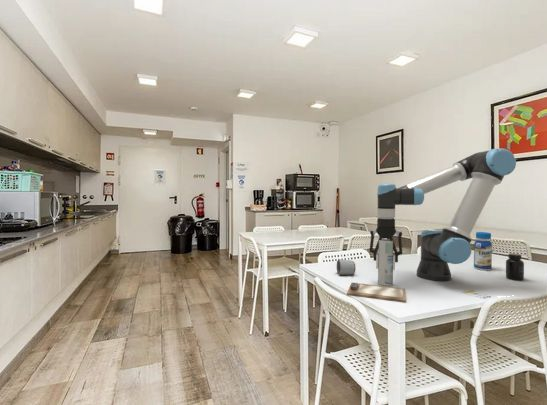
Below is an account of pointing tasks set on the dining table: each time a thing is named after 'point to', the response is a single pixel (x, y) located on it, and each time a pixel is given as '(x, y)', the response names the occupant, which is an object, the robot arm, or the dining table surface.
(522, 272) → the supplement bottle
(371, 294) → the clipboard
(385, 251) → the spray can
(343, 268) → the grey cylinder
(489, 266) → the beverage bottle
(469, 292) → the dining table surface
